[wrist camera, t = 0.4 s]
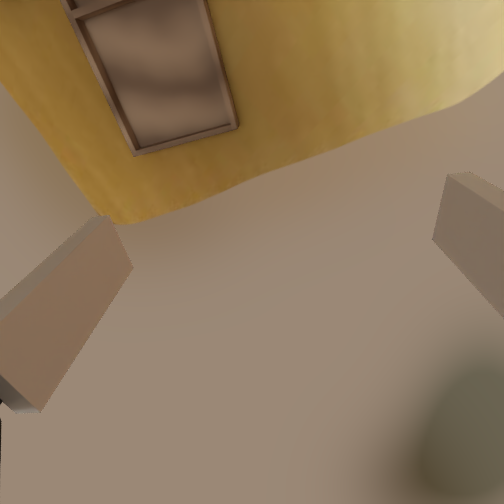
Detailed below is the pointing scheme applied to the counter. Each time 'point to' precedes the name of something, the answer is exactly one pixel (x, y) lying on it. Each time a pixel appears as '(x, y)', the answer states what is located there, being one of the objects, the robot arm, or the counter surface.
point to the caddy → (156, 68)
